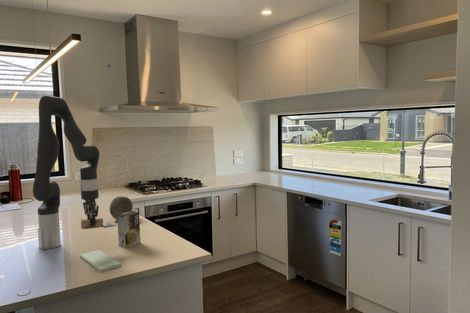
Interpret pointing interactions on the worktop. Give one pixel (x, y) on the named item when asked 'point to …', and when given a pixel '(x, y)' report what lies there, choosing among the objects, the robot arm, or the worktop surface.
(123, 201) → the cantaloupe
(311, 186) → the worktop surface
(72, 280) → the worktop surface
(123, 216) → the coffee box
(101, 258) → the board
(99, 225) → the tall wooden post
